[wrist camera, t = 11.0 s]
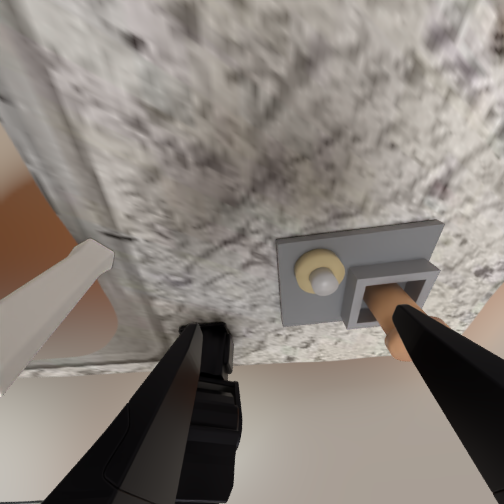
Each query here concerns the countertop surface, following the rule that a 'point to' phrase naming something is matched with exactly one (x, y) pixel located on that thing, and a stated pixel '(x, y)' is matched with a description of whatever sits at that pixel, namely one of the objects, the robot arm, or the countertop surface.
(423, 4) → the countertop surface
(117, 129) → the countertop surface
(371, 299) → the tan flared peg
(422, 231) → the housing
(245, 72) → the countertop surface
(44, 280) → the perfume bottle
